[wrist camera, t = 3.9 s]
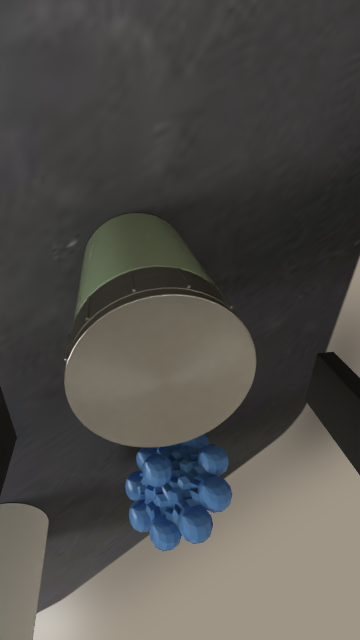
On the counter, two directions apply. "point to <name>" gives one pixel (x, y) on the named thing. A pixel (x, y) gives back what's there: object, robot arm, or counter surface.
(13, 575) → the container
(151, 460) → the grapes
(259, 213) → the counter surface
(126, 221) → the flask
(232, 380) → the flask lid
